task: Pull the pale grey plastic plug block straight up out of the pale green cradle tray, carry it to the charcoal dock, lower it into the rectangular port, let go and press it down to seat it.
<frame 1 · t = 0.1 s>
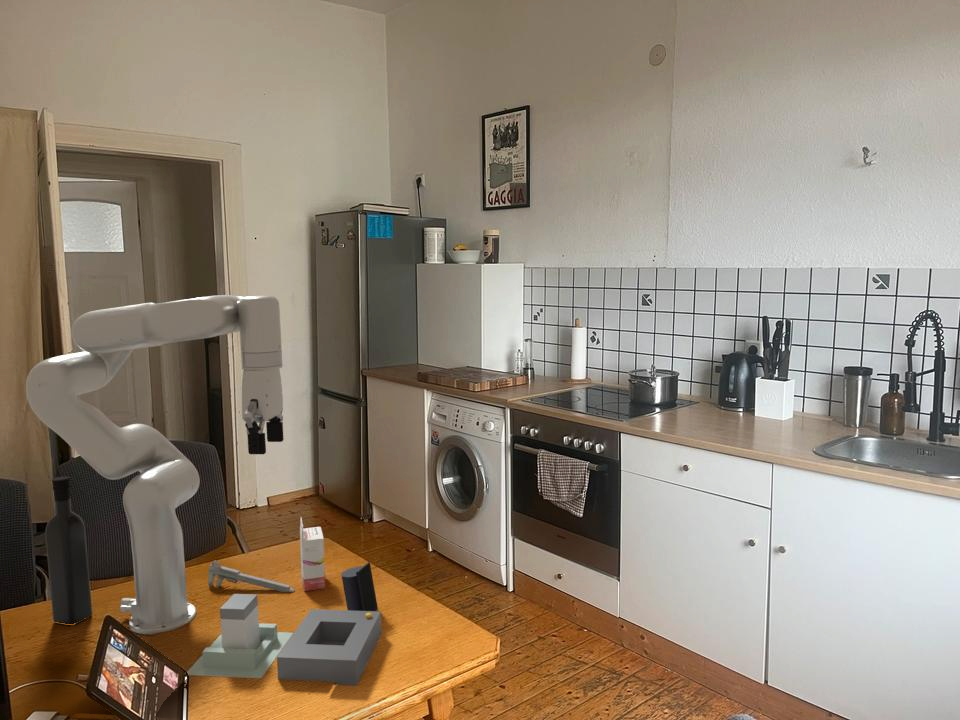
hand: (266, 447, 144), 37 cm above the table, tool pointing down, fingers open, 9 cm apart
caliper: (251, 590, 166), on the table
speaker: (358, 612, 154), on the table
wine bottle: (73, 620, 152), on the table
plug: (241, 652, 137), point 1 cm above the table, touching pale green cradle tray
pale green cradle tray: (242, 655, 137), on the table
ink cartridge box: (313, 583, 169), on the table
dock: (332, 656, 136), on the table
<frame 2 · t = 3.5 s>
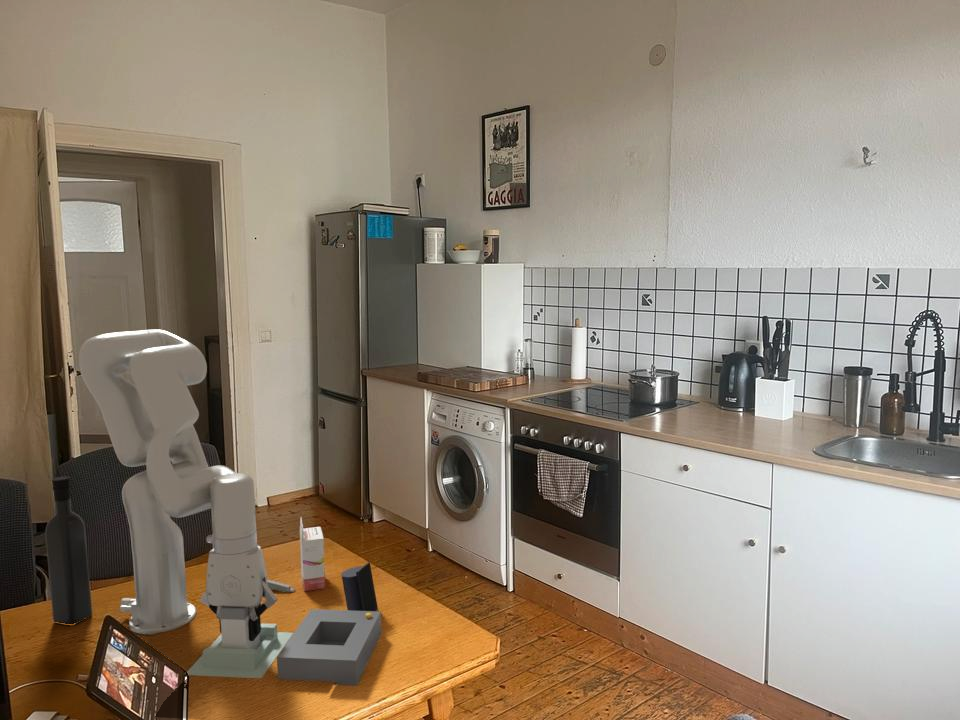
hand: (240, 635, 137), 4 cm above the table, tool pointing down, fingers closed on plug, 4 cm apart
plug: (241, 652, 137), point 1 cm above the table, touching gripper, pale green cradle tray
everything else where it was.
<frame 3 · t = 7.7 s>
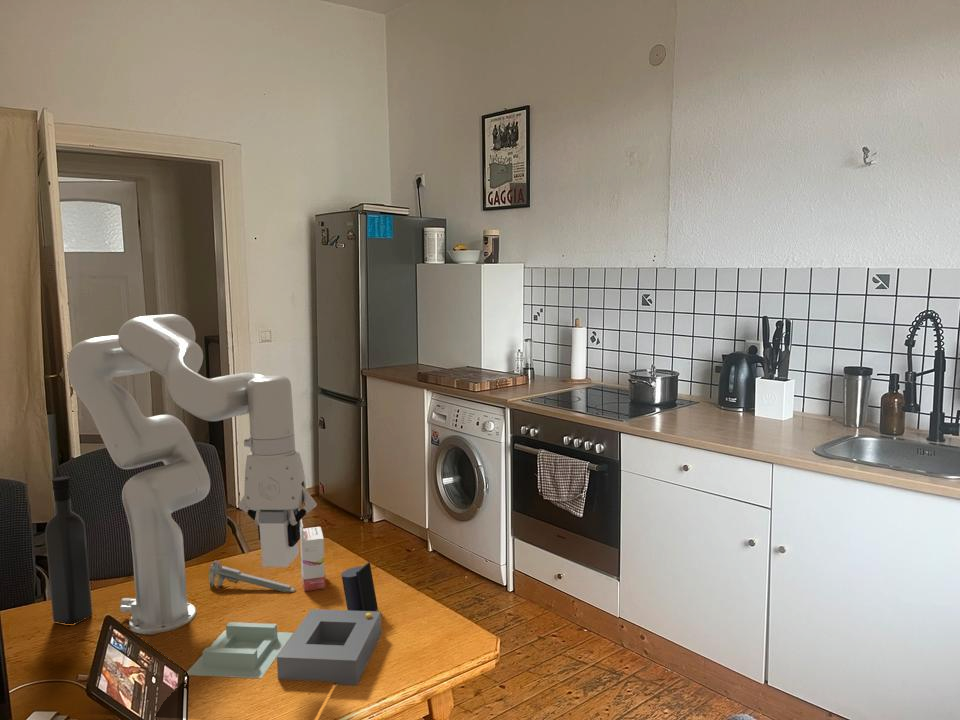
hand: (279, 543, 134), 22 cm above the table, tool pointing down, fingers closed on plug, 4 cm apart
plug: (280, 560, 134), point 19 cm above the table, touching gripper
everything else where it was.
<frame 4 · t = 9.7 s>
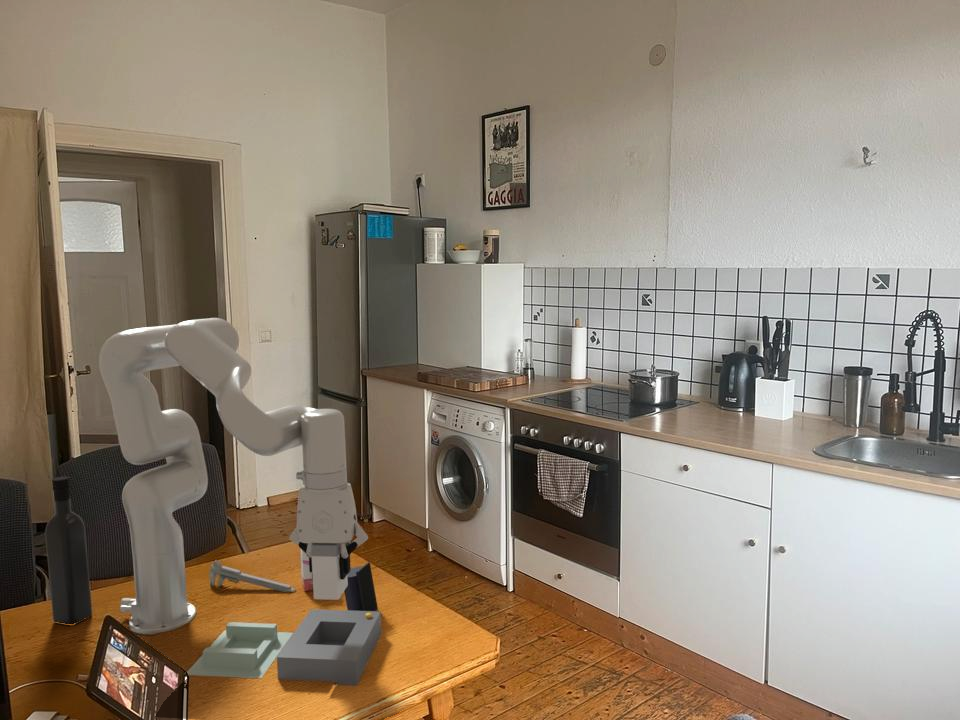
hand: (330, 575, 134), 16 cm above the table, tool pointing down, fingers closed on plug, 4 cm apart
plug: (331, 592, 135), point 13 cm above the table, touching gripper
everything else where it was.
when the fingers open (6 cm above the table, at t = 11.8 s): plug drops 2 cm, resting on dock.
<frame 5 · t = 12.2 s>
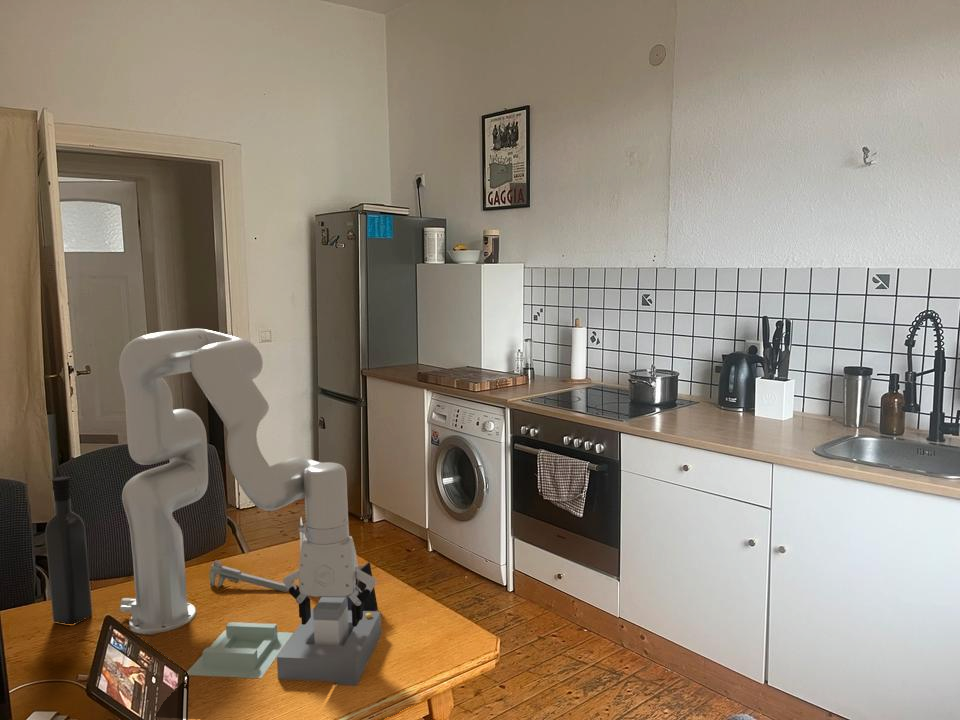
hand: (331, 621, 136), 7 cm above the table, tool pointing down, fingers open, 9 cm apart
plug: (332, 653, 136), point 1 cm above the table, touching dock
everything else where it was.
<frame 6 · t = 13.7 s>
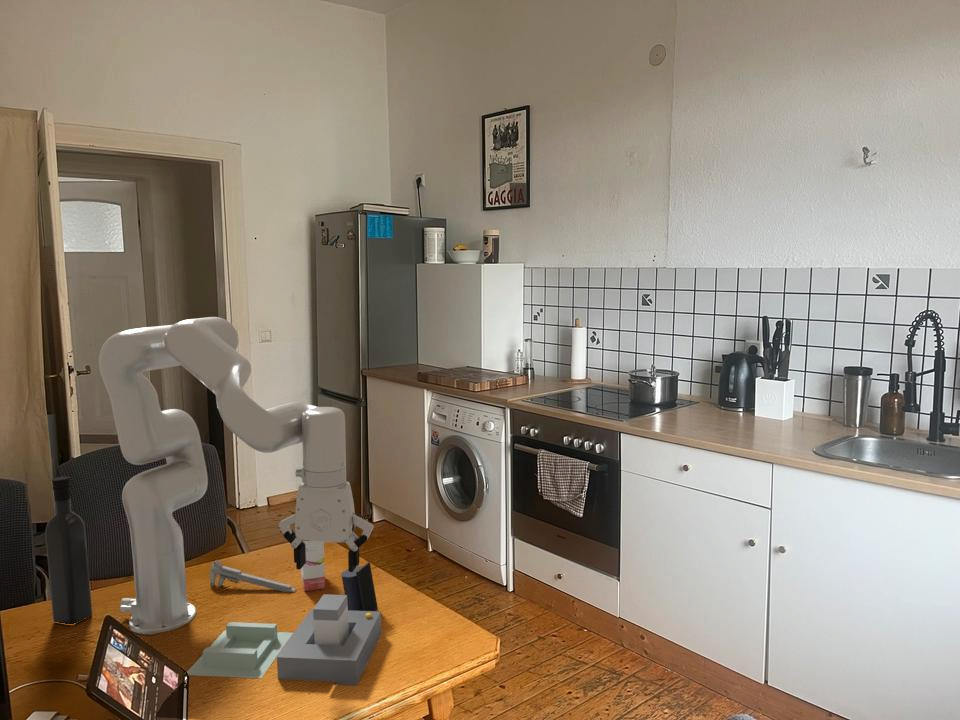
hand: (326, 567, 134), 17 cm above the table, tool pointing down, fingers open, 9 cm apart
nothing on the table moved.
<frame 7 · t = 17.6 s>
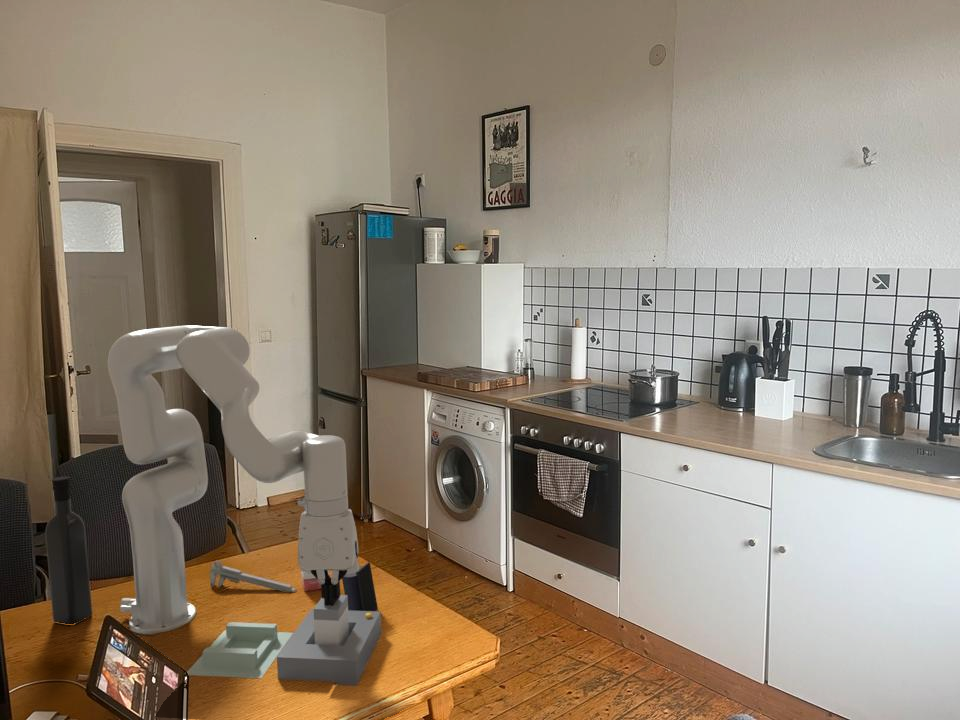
hand: (331, 601, 135), 11 cm above the table, tool pointing down, fingers closed
plug: (332, 653, 136), point 1 cm above the table, touching dock, gripper
everything else where it was.
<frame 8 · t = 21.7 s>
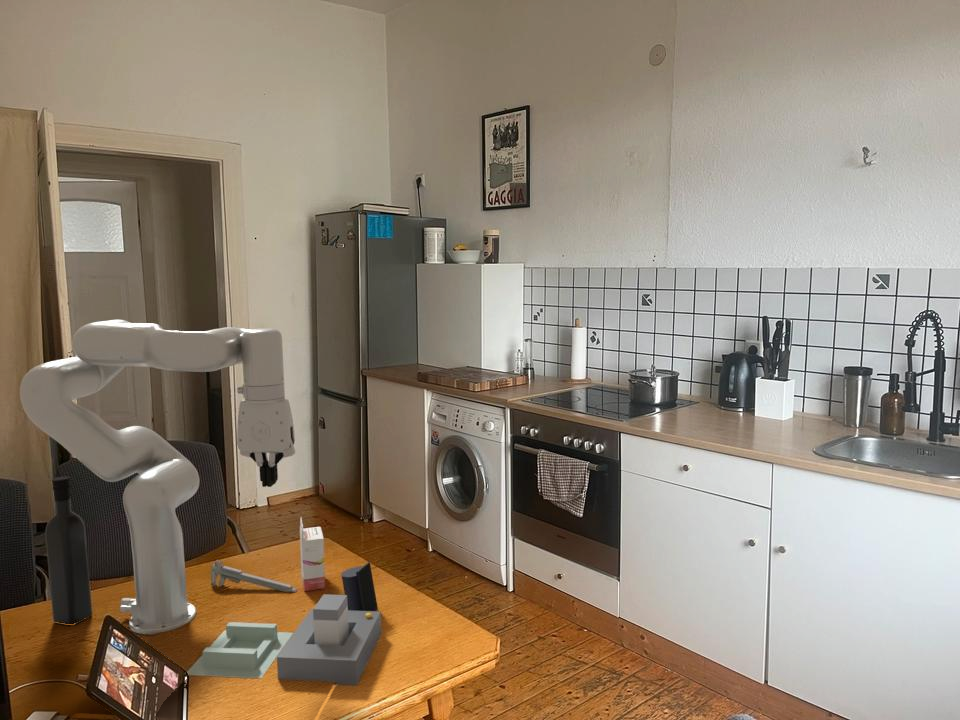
hand: (269, 484, 145), 29 cm above the table, tool pointing down, fingers closed
plug: (332, 653, 136), point 1 cm above the table, touching dock
everything else where it was.
at the end: plug 0.0 cm off-centre on the dock, point 0.6 cm above the dock's base; plug tilted 0°; the gripper is holding nothing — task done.
